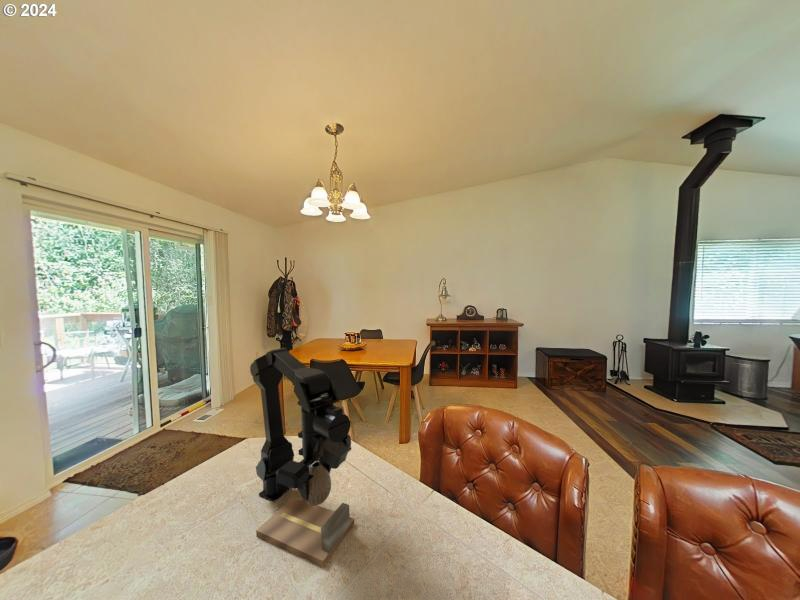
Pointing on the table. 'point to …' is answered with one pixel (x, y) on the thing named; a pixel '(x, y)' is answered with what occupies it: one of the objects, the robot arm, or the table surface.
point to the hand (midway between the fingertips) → (316, 490)
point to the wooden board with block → (307, 530)
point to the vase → (318, 484)
